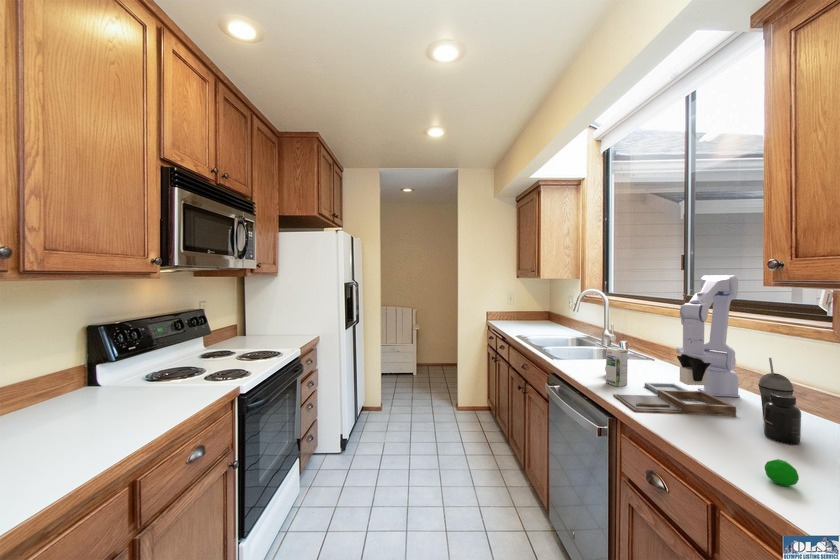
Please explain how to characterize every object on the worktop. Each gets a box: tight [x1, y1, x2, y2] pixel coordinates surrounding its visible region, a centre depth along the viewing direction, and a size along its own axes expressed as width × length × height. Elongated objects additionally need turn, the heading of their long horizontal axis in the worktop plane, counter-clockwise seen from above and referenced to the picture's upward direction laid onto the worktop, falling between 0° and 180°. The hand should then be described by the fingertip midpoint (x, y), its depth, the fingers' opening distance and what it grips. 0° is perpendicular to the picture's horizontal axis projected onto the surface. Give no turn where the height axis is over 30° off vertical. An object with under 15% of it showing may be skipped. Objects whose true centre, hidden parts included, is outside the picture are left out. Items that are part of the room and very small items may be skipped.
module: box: [679, 366, 707, 386], centre depth 119 cm, size 6×4×5 cm, turn 85°
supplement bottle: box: [763, 392, 802, 446], centre depth 94 cm, size 7×7×12 cm
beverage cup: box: [758, 357, 794, 421], centre depth 101 cm, size 7×7×20 cm
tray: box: [644, 382, 690, 395], centre depth 132 cm, size 11×11×2 cm
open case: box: [613, 390, 737, 417], centre depth 119 cm, size 30×15×3 cm, turn 85°
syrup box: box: [605, 346, 629, 387], centre depth 142 cm, size 6×6×14 cm
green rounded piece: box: [764, 458, 800, 487], centre depth 74 cm, size 5×5×5 cm
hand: (692, 379), depth 119 cm, fingers closed on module, 4 cm apart
